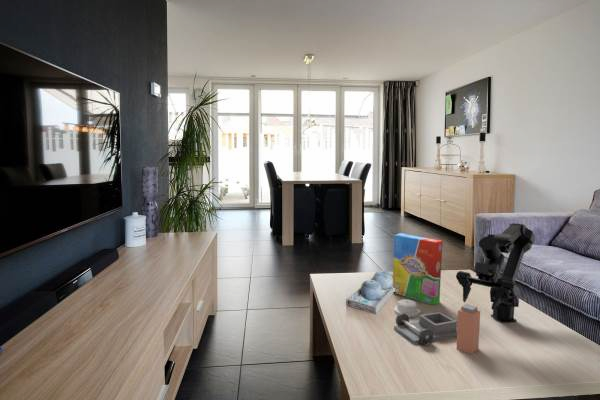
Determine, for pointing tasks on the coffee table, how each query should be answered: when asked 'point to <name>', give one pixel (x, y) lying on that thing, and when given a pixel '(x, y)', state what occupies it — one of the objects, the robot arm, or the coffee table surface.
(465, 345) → the two-tone capped block
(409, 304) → the mechanical component
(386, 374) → the coffee table surface
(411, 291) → the game box
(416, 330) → the chassis
